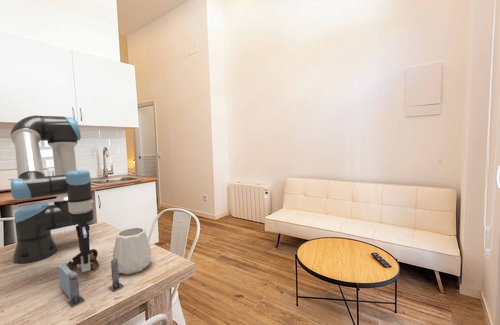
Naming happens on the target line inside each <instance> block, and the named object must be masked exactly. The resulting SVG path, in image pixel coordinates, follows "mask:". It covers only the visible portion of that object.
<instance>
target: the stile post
mask: <svg viewBox="0 0 500 325" xmlns="http://www.w3.org/2000/svg"><path fill="white" fill-rule="evenodd" d="M110 266H111V270H110V271H111V282H112V285H110V286H108V290H110V291H111V292H113V293H114V292H116V291H118V290H120V289H122V288H124V286H125V285H123V284H122V283H121V282H120V279H119V278H120V277H119V275H120V274H119V273H118V261H117V259H113V258H112V259H111V260H110Z"/></svg>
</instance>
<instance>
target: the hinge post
mask: <svg viewBox="0 0 500 325" xmlns="http://www.w3.org/2000/svg"><path fill="white" fill-rule="evenodd" d="M70 283H71V293H72V299H70V300H68V301H67V304H68V305H69V307H71V308H73V307H75V306H77V305H80V304H81V303H84V302H85V298H83V297H82V295H81V294H80V285H79V276H78V277H76V278H73V279H70Z"/></svg>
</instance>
